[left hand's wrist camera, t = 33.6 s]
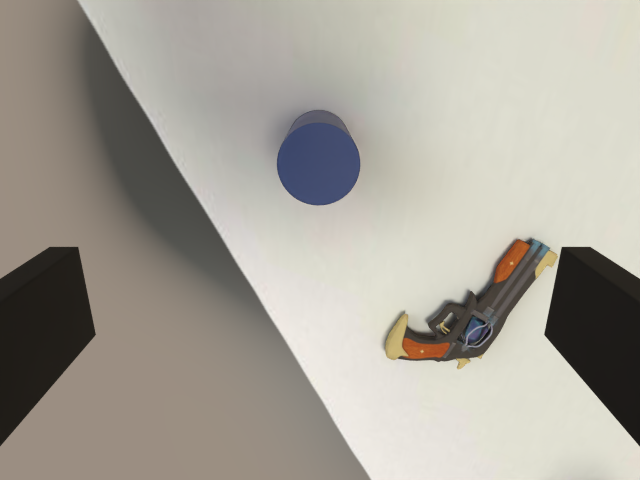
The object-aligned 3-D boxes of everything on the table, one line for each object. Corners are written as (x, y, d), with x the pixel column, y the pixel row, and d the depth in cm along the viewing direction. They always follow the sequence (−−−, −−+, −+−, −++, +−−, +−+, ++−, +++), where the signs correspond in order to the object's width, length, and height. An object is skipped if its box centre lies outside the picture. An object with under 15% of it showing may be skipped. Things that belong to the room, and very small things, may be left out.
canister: (350, 110, 42) (362, 123, 31) (348, 172, 44) (358, 206, 33) (287, 109, 42) (276, 121, 31) (288, 171, 44) (277, 204, 33)
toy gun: (379, 357, 49) (458, 401, 49) (481, 207, 44) (566, 257, 45) (378, 346, 51) (452, 387, 52) (473, 203, 47) (554, 250, 47)
